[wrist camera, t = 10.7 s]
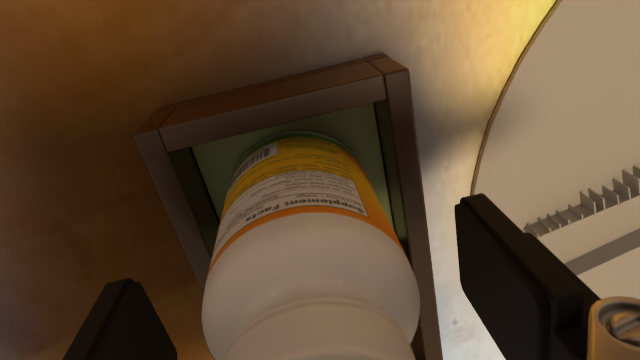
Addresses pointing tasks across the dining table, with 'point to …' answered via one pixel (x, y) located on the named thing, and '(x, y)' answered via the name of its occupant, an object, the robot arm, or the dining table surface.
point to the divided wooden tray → (290, 115)
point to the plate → (574, 143)
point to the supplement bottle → (307, 261)
